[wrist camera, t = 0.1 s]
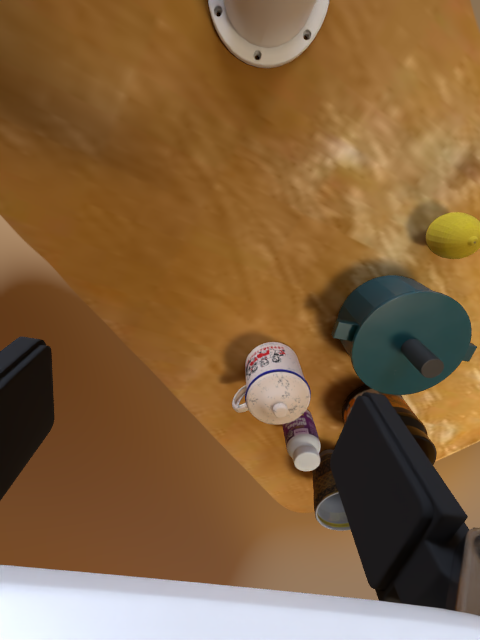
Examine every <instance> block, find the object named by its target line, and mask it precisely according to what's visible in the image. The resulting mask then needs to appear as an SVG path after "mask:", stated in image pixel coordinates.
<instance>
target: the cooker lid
mask: <svg viewBox="0 0 480 640" xmlns="http://www.w3.org/2000/svg"><path fill="white" fill-rule="evenodd" d="M470 341H471V323H470V320H469V317H468V315H467V313H466V311H465V310H464V308H463V307H462V306H461V305H460V304H459V303H458V302H457V301H455V300H454V299H452V298H451V297H449V296H447V295H444V294H442V293H439V292H435V291H428V290H418V291H410V292H406V293H402V294H399V295H396V296H394V297H392V298H390V299H388V300H386V301H384V302H383V303H381V304H379V305H378V306H377V307H376V308H374V309H373V310H372V311H371V312H370V313H369V314H368V315H367V316H366V317H365V318H364V319H363V321H362V322H361V323H360V325H359V327H358V328H357V330H356V332H355V334H354V337H353V340H352V345H351V361H352V365H353V368H354V370H355V372H356V374H357V375H358V377H359V378H360V379H361V380H362V381H363V382H364V383H365V384H366V385H367V386H369V387H370V388H372V389H374V390H376V391H378V392H381V393H385V394H391V395H406V394H412V393H417V392H420V391H423V390H426V389H428V388H430V387H432V386H434V385H436V384H438V383H439V382H441V381H442V380H444V379H445V378H446V377H448V376H449V375H450V374H451V373H452V372H453V371H454V370H455V369H456V368H457V367H458V365H459V364H460V363H461V361H462V360H463V358H464V357H465V355H466V353H467V351H468V348H469V345H470Z"/></svg>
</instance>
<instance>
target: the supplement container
mask: <svg viewBox="0 0 480 640" xmlns="http://www.w3.org/2000/svg"><path fill="white" fill-rule="evenodd" d="M364 392H370V393H376V394H382V395H385V396H386V397H387V399H388V400H389V402H390V403H391V405H392V406H393V408H394V409H395V411H396V412H397V414H398V415H399V417H400V418H401V419H402V421H403V422H404V424H405V425H406V427H407V428H408V430H409V431H410V433H411V434H412V436H413V437H414V439H415V440H416V442H417V443H418V444H419V446H420V447H421V449H422V450H423V452H424V453H425V455H426V456H427V458H428V459H429V461H430V462H431V464H432V465H433V464H434V462H435V460H436V448H435V446H434V444H433V443H432V442H431V440H430V439H429V438H428V436H427V431H426V428H425V426H424V425H423V423H422V422H421V421H420V420H419V419H418V418H417V417H416V416H415V414H414V413H413V411H412V410H411V409H410V407H409V406H408V405H407V403H406V402H405V401H404V399H403V398H402V396H401V395H391V394H385V393H381V392H378V391H376V390H374V389H372V388H370V387H369V386H367V385H366V386H363V387H360V388H358V389H357V390H355V391H354V392H352V393H351V394H350V395H349V396H348V398H347V399H346V400H345V402H344V405H343V408H342V416H343V420H344V422H345V423H346V421H347V418H348V416H349V414H350V411H351V409H352V407H353V404H354V402H355V400H356V398H357V397H358V396H362V394H363V393H364Z"/></svg>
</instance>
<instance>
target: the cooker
mask: <svg viewBox="0 0 480 640" xmlns="http://www.w3.org/2000/svg"><path fill="white" fill-rule="evenodd" d="M418 290H428V291H432V290H430V289H428V288H427V287H425V286H423V285H422V284H420V283H418V282H417V281H415V280H413V279H410V278H407V277H403V276H397V275H388V276H381V277H377V278H374V279H372V280H369V281H367V282H365V283H363V284H362V285H360V286H359V287H358V288H356V289H355V290H354V291H353V292H352V293H351V294H350V295H349V296H348V297H347V299H346V300H345V301H344V303H343V305H342V307H341V309H340V311H339V314H338V319H337V320H336V323H335V326H334V328H333V331H332V334H331V335H332V337H333V338H336V339H339V340H340V341H341V343H342V344H343V346H344V348H345V349H346V351H347V353H348V354H349V356H350V357H351V345H352V340H353V337H354V334H355V332H356V330H357V328H358V327H359V325H360V323H361V322H362V321H363V319H364V318H365V317H366V316H367V315H368V314H369V313H370V312H371V311H372V310H373V309H374V308H376V307H377V306H378V305H379V304H381V303H383V302H384V301H386V300H388V299H390V298H392V297H394V296H396V295H399V294H402V293H406V292H410V291H418ZM476 348H477V346H475V345H474V344H472V343H470V345H469V348H468V351H467V353H466V355H465V357H464V358H463V361H469V360H470V359H471V357H472V355H473V353H474V352H475V350H476Z"/></svg>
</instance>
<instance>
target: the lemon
mask: <svg viewBox="0 0 480 640" xmlns="http://www.w3.org/2000/svg"><path fill="white" fill-rule="evenodd" d="M426 243H427V245H428V247H429V248H430V250H431V251H432V252H433V253H435V254H437V255H438V256H440V257H444V258H448V259H460V258H464V257H467V256H469V255H471V254H473V253H474V252H476V251H477V250H478V249H479V248H480V222H479V221H478V220H477V219H476V218H475V217H473V216H471V215H468V214H465V213H458V212H455V213H448V214H445V215H442V216H440V217H438V218H437V219H435V220H434V221H433V222H432V223H431V224H430V226H429V227H428V230H427V232H426Z"/></svg>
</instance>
